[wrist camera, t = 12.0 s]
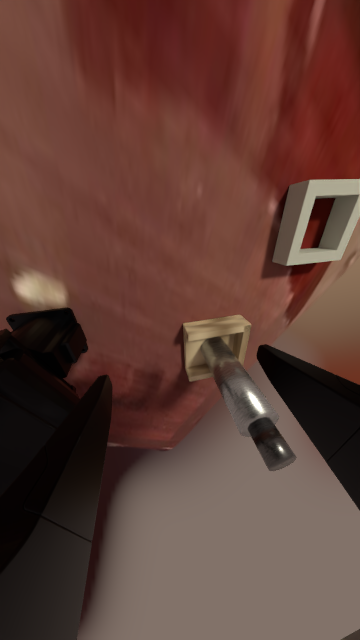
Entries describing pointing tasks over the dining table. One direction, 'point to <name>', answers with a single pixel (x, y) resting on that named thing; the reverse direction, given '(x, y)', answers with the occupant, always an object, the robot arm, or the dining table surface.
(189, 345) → the beige square tray
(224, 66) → the dining table surface
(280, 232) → the socket block
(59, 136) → the dining table surface
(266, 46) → the dining table surface
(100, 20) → the dining table surface
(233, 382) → the silver and grey cylinder
